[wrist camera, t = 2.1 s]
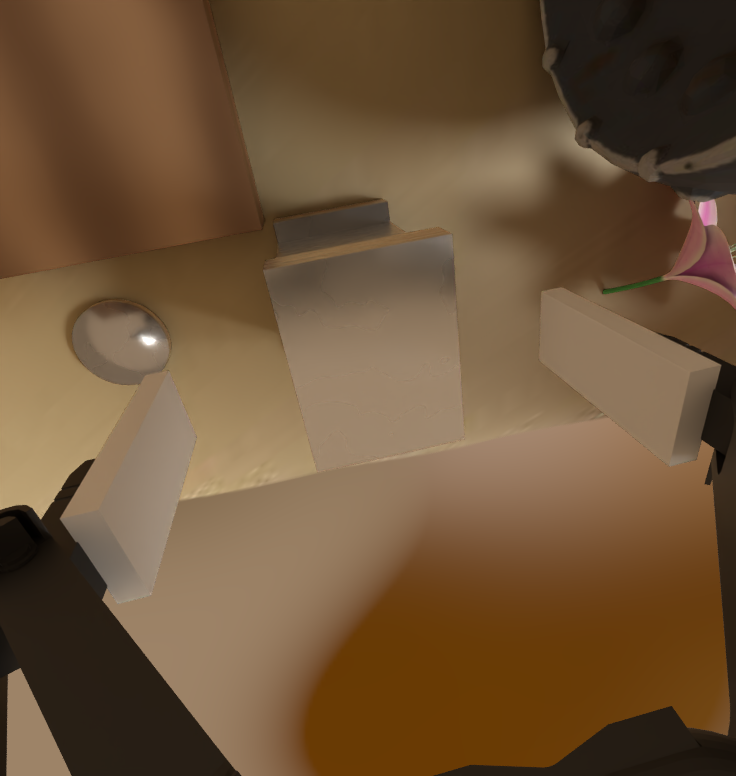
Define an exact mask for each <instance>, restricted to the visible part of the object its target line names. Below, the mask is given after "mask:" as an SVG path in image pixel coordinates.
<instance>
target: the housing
mask: <svg viewBox="0 0 736 776" xmlns="http://www.w3.org/2000/svg"><path fill="white" fill-rule="evenodd" d="M273 225H274V229H275V233H276V237H277V241H278V247H277V256H276V258H274V259H268V260H265V263H264V268H263V272H264V276H265V280H266V283H267V287H268V291H269V295H270V298H271V302H272V306H273V309H274V313H275V317H276V321H277V324H278V328H279V332H280V335H281V339H282V343H283V346H284V350H285V354H286V358H287V361H288V365H289V369H290V372H291V376H292V380H293V384H294V387H295V391H296V395H297V398H298V402H299V406H300V410H301V413H302V417H303V421H304V424H305V428H306V432H307V435H308V439H309V443H310V447H311V450H312V454H313V458H314V461H315V465H316V469H317V473H318V472H322V471H327V470H331V469H335V468H340V467H344V466H349V465H353V464H358V463H362V462H366V461H371V460H375V459H380V458H384V457H389V456H393V455H398V454H402V453H406V452H411V451H415V450H420V449H424V448H429V447H433V446H437V445H442V444H446V443H451V442H455V441H460V440H464V439H465V433H464V417H463V401H462V384H461V368H460V352H459V335H458V319H457V303H456V286H455V270H454V254H453V238H452V233H450V232H448V231H446V230H444V229H442V228H440V227H434V228H429V229H424V230H419V231H413V232H408V233H406V232H405V231H403V230H402V229H400V228H399V227H397V226H396V225H394V224H393V223H391V222H390V218H389V210H388V202H387V201H385V200H383V199H379V200H374V201H368V202H363V203H358V204H352V205H347V206H342V207H336V208H331V209H326V210H320V211H315V212H310V213H304V214H299V215H294V216H288V217H283V218H278V219H274V221H273Z"/></svg>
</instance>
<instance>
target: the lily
mask: <svg viewBox="0 0 736 776" xmlns="http://www.w3.org/2000/svg"><path fill="white" fill-rule="evenodd" d="M689 202H690V206H691V209H692V213H693V216H692V222H691V226H690V229H689V232H688V234H687V237H686V239H685V242H684V244H683V246H682V249H681V251H680V253H679V256H678V258H677V260H676V263H675V265H674V266H673V268H672V270H671V271H670V272H669V273H667V274H665V275H663V276H660V277H657V278H653V279H650V280H646V281H642V282H639V283H634V284H630V285H625V286H621V287H616V288H611V289H606V290H603V294H609V293H614V292H619V291H624V290H629V289H634V288H638V287H642V286H646V285H650V284H654V283H658V282H661V281H665V280H680V281H684V282H688V283H691V284H693V285H696V286H699V287H702V288H704V289H706V290H709V291H711V292H712V293H714V294H716V295H718V296H720V297H721V298H723V299H724V300H726V301H727V302H729V303H730V304H731V305H732V306H733V307H734V308H735V309H736V264H734V261H733V257H736V255H732V254H731V252H733V251H735V250H736V246H735V247H733V246H734V245H736V244H734V245H732V246H730V247H729V245H728V242H727V239H726V237H725V235H724V233H723V232H722V231H721V229H720V228H719V227H717V206H716V202H715V199H713V200H710V201H707V202H700V205H699V210H697V208H696V206H695V201H692V200H689ZM731 247H733V248H731ZM730 248H731V249H730Z"/></svg>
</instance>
